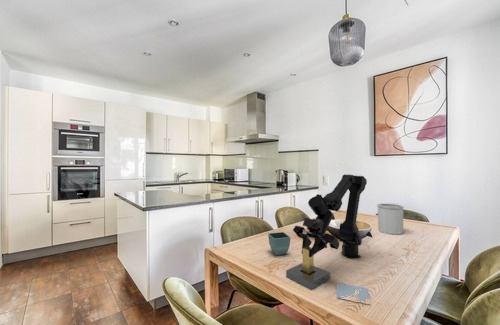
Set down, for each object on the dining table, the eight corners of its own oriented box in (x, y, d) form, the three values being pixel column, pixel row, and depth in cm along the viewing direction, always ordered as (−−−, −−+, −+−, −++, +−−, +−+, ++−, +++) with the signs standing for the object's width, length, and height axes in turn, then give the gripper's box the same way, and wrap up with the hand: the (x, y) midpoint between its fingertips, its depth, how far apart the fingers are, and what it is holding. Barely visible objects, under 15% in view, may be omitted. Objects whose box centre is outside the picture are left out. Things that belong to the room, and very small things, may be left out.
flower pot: (273, 257, 108) (274, 238, 108) (267, 250, 117) (267, 233, 117) (290, 255, 111) (290, 237, 111) (283, 248, 119) (283, 231, 119)
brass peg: (307, 271, 92) (307, 246, 91) (313, 273, 89) (313, 248, 89) (302, 273, 90) (302, 248, 90) (308, 276, 87) (308, 250, 87)
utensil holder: (372, 229, 153) (372, 203, 153) (386, 227, 159) (386, 201, 159) (393, 236, 139) (394, 207, 139) (408, 233, 146) (408, 205, 145)
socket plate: (305, 267, 98) (305, 262, 98) (330, 278, 89) (330, 272, 89) (286, 276, 90) (286, 270, 90) (311, 289, 81) (311, 282, 81)
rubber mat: (337, 283, 85) (337, 282, 85) (367, 289, 81) (367, 288, 81) (336, 298, 76) (336, 297, 76) (370, 305, 72) (370, 304, 72)
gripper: (295, 206, 99) (278, 237, 92) (335, 214, 85) (318, 251, 78) (306, 221, 104) (290, 252, 97) (346, 231, 90) (330, 267, 83)
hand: (305, 255), depth 89 cm, fingers closed on brass peg, 3 cm apart
